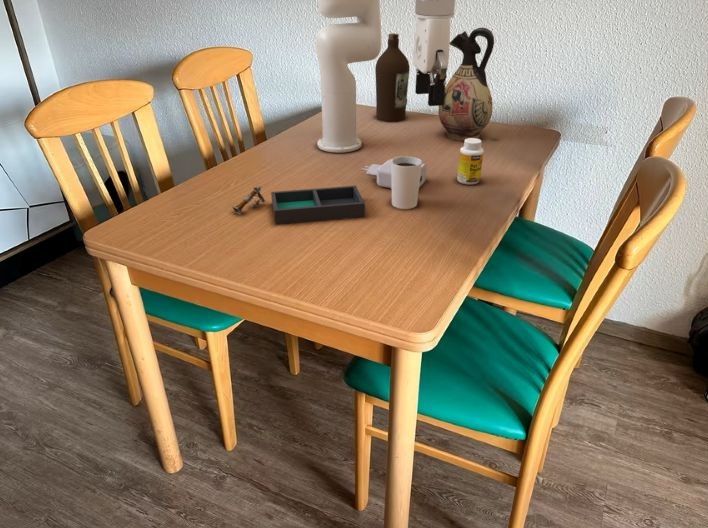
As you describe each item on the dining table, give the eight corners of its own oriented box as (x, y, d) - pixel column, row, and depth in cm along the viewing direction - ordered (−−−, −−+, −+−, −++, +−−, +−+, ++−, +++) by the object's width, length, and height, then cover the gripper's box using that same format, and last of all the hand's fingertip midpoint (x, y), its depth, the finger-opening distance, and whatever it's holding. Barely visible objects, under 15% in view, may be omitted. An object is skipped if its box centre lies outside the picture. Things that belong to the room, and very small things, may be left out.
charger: (370, 171, 147) (425, 180, 142) (355, 183, 141) (412, 194, 135) (371, 153, 145) (427, 162, 139) (355, 165, 138) (413, 175, 132)
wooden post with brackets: (269, 199, 131) (261, 184, 127) (245, 222, 128) (236, 208, 125) (264, 197, 132) (256, 182, 128) (240, 220, 129) (231, 205, 126)
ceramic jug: (427, 139, 169) (435, 27, 152) (449, 125, 179) (458, 20, 163) (482, 149, 161) (497, 33, 144) (501, 134, 172) (516, 24, 155)
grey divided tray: (272, 204, 130) (271, 191, 129) (355, 198, 133) (355, 185, 131) (275, 224, 122) (274, 210, 120) (364, 216, 125) (364, 203, 123)
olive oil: (368, 118, 186) (369, 34, 172) (386, 111, 193) (388, 30, 179) (395, 124, 180) (398, 38, 167) (413, 116, 187) (417, 33, 174)
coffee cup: (422, 208, 129) (425, 165, 123) (394, 211, 127) (395, 168, 122) (413, 196, 134) (416, 155, 128) (386, 199, 133) (387, 157, 127)
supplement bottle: (467, 187, 138) (472, 145, 133) (452, 180, 142) (456, 139, 137) (484, 182, 141) (489, 141, 135) (468, 175, 145) (473, 135, 139)
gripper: (405, 3, 117) (401, 90, 127) (428, 14, 103) (422, 111, 112) (440, 2, 118) (434, 88, 128) (468, 13, 104) (459, 109, 113)
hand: (428, 99), depth 120 cm, fingers open, 9 cm apart
